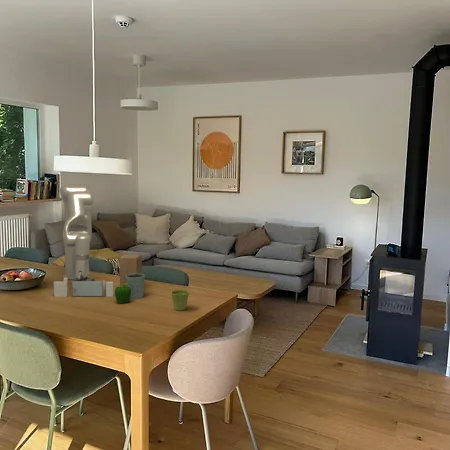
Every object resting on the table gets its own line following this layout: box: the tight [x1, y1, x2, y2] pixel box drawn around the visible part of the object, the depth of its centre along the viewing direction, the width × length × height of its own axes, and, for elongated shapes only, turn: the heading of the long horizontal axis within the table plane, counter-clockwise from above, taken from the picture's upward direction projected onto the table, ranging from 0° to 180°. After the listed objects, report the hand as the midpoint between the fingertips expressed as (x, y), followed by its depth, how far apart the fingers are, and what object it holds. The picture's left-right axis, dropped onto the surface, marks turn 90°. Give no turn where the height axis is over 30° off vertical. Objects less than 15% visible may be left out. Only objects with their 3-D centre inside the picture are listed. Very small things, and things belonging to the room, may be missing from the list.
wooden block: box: [119, 253, 143, 287], centre depth 257 cm, size 10×10×20 cm
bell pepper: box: [114, 284, 131, 304], centre depth 234 cm, size 8×8×10 cm
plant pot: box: [170, 289, 190, 312], centre depth 224 cm, size 9×9×9 cm
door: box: [71, 281, 103, 297], centre depth 243 cm, size 16×2×8 cm, turn 91°
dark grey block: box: [71, 277, 95, 289], centre depth 252 cm, size 7×10×6 cm
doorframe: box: [53, 278, 115, 298], centre depth 243 cm, size 2×32×10 cm, turn 91°
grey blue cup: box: [126, 273, 146, 300], centre depth 244 cm, size 10×10×12 cm
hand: (83, 287), depth 252 cm, fingers closed on dark grey block, 7 cm apart
